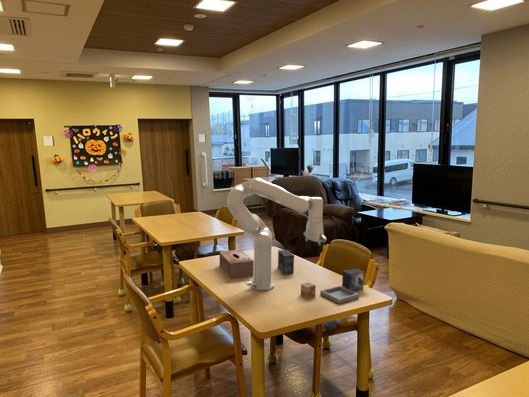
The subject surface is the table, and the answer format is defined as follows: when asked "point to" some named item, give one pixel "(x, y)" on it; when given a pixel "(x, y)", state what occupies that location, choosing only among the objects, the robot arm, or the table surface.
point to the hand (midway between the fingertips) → (314, 250)
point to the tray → (339, 294)
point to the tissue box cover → (236, 264)
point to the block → (308, 290)
